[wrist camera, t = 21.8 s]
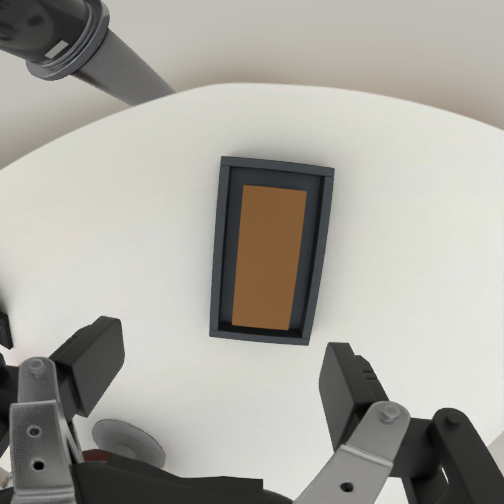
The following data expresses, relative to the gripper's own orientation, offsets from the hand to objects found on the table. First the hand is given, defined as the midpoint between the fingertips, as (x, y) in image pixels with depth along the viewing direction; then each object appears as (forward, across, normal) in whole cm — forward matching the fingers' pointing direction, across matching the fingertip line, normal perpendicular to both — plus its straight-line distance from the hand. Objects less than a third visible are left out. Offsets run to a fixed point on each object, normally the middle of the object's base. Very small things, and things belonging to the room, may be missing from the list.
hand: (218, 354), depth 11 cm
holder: (+18, -2, 0) cm, 18 cm away
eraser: (+18, -2, 0) cm, 18 cm away
